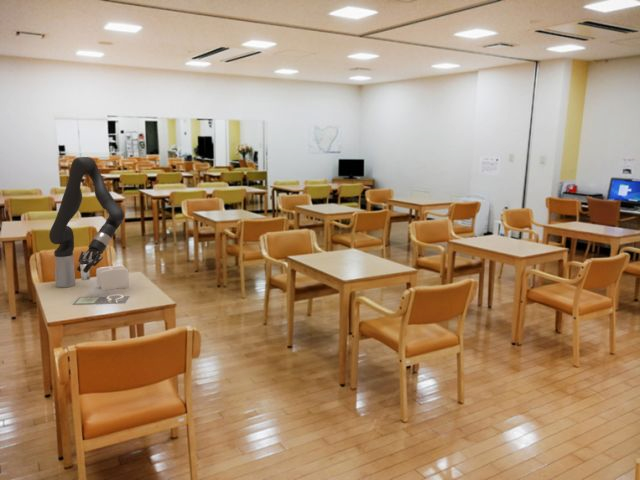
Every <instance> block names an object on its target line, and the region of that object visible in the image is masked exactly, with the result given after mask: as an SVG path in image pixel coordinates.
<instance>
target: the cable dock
mask: <svg viewBox="0 0 640 480" xmlns="http://www.w3.org/2000/svg"><path fill="white" fill-rule="evenodd" d="M129 298H131V295H126V296H124V295H123V294H110V295H108V296H90V297H89V296H88V297H84V296H82V297H78V299H76V301H74V303H72V304H71V305H72V306H81V305H82V306H83V305H115V304H116V305H117V304H118V305H119V304H121V305H122V304H126V303H127V301H128V300H129Z"/></svg>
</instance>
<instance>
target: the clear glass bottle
mask: <svg viewBox="0 0 640 480" xmlns="http://www.w3.org/2000/svg"><path fill="white" fill-rule="evenodd" d="M88 261H89V260H88V259H80V262H79V264H80V270H81V272H80V280H81V281H89V280H90V279H91V274H90V270H89V271H88V272H87V273H85V272H84V271H83V270H84V268H85V266H86V265H87V264H88Z"/></svg>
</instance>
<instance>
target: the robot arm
mask: <svg viewBox="0 0 640 480" xmlns="http://www.w3.org/2000/svg"><path fill="white" fill-rule="evenodd" d="M84 176H88V177H89V178H90V179H91V182H92V184H93V189H94V195H95V198H96V200H97V202H98V203H99V204H100V206H101V207H102V209H103V210H105V211H106V212H107V213H108V214H109V216H108V218H107V219H106V220H105V222H104V223H103V224H102V226H101V227H100V229H99V230H98V231H97V233H96V234H95V235H94V237H93V239H92V240H91V242H90V243H89V245H88V250H86V251H81V252H80V255H79V258H78V260H77V262H79V264H78V266H77V268H76V271H78V272H80V273H81V270H80V259H88V260H89V261H88V264H87V265H86V266H85V268H84V270H83V271H84V272H85V273H87V272H88V271H89V272H90V269H91V268H92V267H96V266H97V265H98V264H99V263H100V262H101V260H103V256H102V254H103V253H104V252H105V250H106V249H107V247H108V245H109V244H110V242H111V240H112V238H113V237H114V235H115V234H116V231H117V230H118V229H119V227H120V226H121V224H122V223H123V222H124V219H125V212H124V211H123V208H121V207H120V205H119V204H118V203H117V202H116V201H115V199H114V197H113V196H112V194H111V193H110V191H109V189H108V188H107V185H106V183H105V181H104V179H103V177H102V174H101V172H100V169H99V167H98V165H97V163H96V160H94V159H93V158H92V157H90V156H82V157H81V156H80V157H76V158H74V159H73V161H72V162H71V164H70V170H69V174H68V180H67V183H66V186H65V190H64V193H63V195H62V197H61V198H62V199H61V200H60V201H61V203H60V205H59V208H58V211H57V214H56V217H55V219H54V221H53V224H52V226H51V228H50V231H49V235H48V236H49V240H50V242H51V243H52V244H53V245H59V246H58V247H57V248H56V249H55V250H54V253H53V254H54V263H55V265H54V267H55V269H54V279H55V280H54V281H55V282H54V283H55V287H56V288H70V287H73V286H75V285H76V273H75V262H74V249H75V235H74V231H73V229H72V228H71V226H69V225H68V224H69V223H70V221H71V220H72V219H73V218H74V216H75V215H76V214H77V213H78V211H79V210H80V207H81V204H82V202H83V201H82V200H83V193H82V190H81V183H82V181H83V178H84Z"/></svg>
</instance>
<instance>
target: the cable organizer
mask: <svg viewBox="0 0 640 480" xmlns="http://www.w3.org/2000/svg"><path fill="white" fill-rule="evenodd" d="M95 274H96V285H97V286H98V288H101V290H102V291H108V290H109V291H110V290H120V289H121V290H125V289H127V288H129V286H130V277H129V275H130V274H129V270H128V268H126V267H125V266H124V265H122V264H121V265H119V264H118V265H109V266H100V267H98V268H96V271H95Z"/></svg>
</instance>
